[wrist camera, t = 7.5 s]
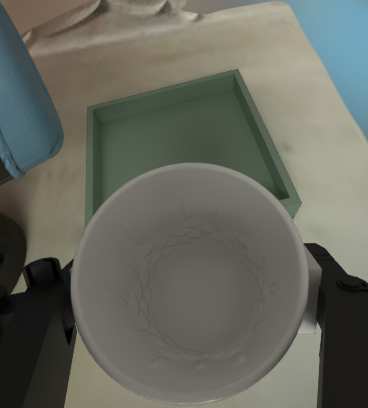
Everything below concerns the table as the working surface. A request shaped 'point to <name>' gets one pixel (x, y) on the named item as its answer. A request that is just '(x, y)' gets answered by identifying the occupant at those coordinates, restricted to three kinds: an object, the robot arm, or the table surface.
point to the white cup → (189, 284)
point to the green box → (182, 137)
